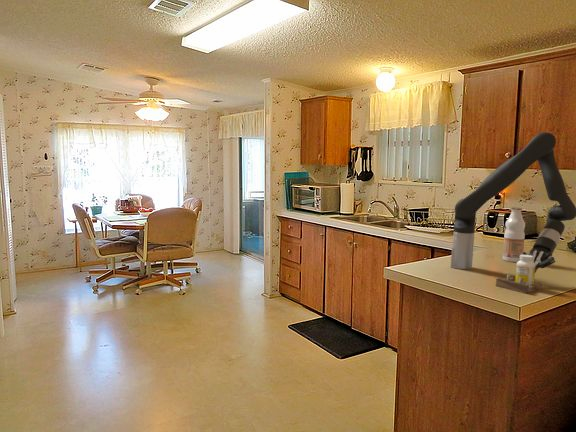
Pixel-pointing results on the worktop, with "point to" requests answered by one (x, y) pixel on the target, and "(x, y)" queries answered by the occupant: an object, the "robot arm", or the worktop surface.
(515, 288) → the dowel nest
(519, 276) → the supplement bottle
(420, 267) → the worktop surface
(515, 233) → the fruit juice
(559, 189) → the robot arm
